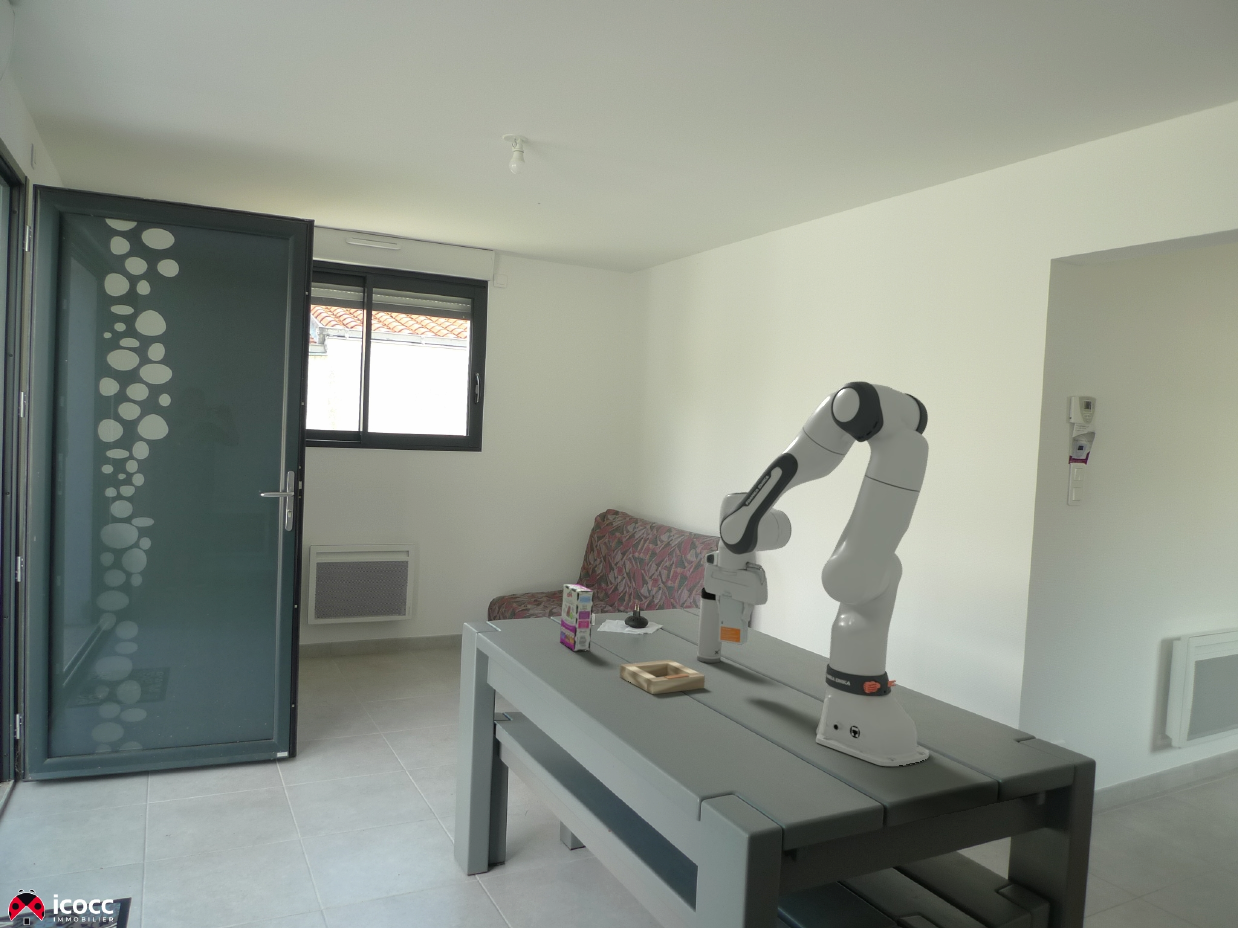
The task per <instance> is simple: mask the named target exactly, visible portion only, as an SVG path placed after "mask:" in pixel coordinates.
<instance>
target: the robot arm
mask: <svg viewBox="0 0 1238 928" xmlns="http://www.w3.org/2000/svg"><path fill="white" fill-rule="evenodd" d="M928 415H929V414H928V410H927V408H926V406H925V404H924V403H923V402H922V401H921V400H919V398H918V397H915V396H913V395H912V394H909V393H905V392H902V391H899V390H897V389H893V388H892V387H890V386H888V385H887V386H886V385H883V384H877V383H871V382H870V383H869V382H867V381H862V380H861V381H858V380H857V381H851V382H847V383H844V384H842V386H839V388H838V389H837V390H836V391H834V392H832V393H830V394H828V395H827V396H826V397H825V398H824V399H823V400H822V401H821V402H820V404H819V405H818V406H817V407H816V408H815V410H814V411H813V412H812V413H811V415H810V416H809V417H808V419H807V420H806V421H805V422H804V425H803V426H802V428H801V429H800V430H799V432H798V433H797V434H796V436H795V437H794V438H793V440H791V442H790V444H789V445H788V446H787V447H786V448H785V449H784V450H783V451H782V452H781V453H780V454H779V455H777V457H776V458H775V459H774V460H773V461H772V462H771V463H770V464H769V465H768V467H767V468H765V470H764V471H763V472H762V473H761V475H760V477H758V479H757V481H756V482H755V483H754V484H753V485H752V487H751V488H750V489H749V491H747V492H746V491H745V492H742V491H741V492H734V493H733V492H732V493H728V494H726V495H725V496H724V497H723V499H722V501H721V505H720V510H719V519H718V521H719V522H718V529H719V535H720V537H719V538H720V539H719V542H718V546H717V550H716V551H713V552H711V553H706V554H705V555H704V562H705V564H706V565H705V567H704V574H703V587H705V590H706V592H708V593H712V594H716V601H717V604H718V606H719V610H718V613H719V614H720V594H721V592H723V591H724V592H728V593H731V594H732V598H733V599H734V600H738V601H742V602H744V607H745V609H744V612H743V613H741V620H742V621H745V622H746V621H748V622H750V621H751V614H752V612H753V610H754V609H755V606H764V605H766V604H767V602H768V600H769V599H768V598H769V597H768V595H769V592H768V591H769V589H768V578H767V576H766V575H767V574H766V571H765V569H764V567H763V566H762V565H761V564H759V563H758V564H756V553H757V552H765V551H774V550H778V549H783V547H785V546H786V545H787V544H788V543H789V541H790V538H791V536H792V524H791V520H790V518H789V517H788V515H787V514H786V513H785V512H784V511H782V510H780V509H777V508H774V506H775V505H776V504H777V502H778V501H779V500H780V499H781V498H782V496H784V494H786V493H788V491H790V490H792V489H794V488H795V487H798V486H800V485H802V484H806V483H808V482H811V481H816V480H819V479H822V478H825V477H827V476H829V475H830V474H831V473H832V472H833V471H835V469H837V468H838V466H839V465H840V464H841V463H842V461H843V460H844V459H845V457H846V455H847V454H848V453H849V452H850V450H851V448H852V447H853V445H854V443H855V442H856V441H857V442H858V443H863V442H867V444H868V446H869V447H870V456H869V460H868V463H867V465H866V466H867V467H866V469H865V472H864V476H863V478H862V482H861V485H860V488H859V491H858V495H857V497H856V501H855V503H854V507H853V510H852V512H851V514H850V517H849V519H848V520H847V523H846V525H845V527H844V528H843V531H842V533H841V535H840V537H839V539H838V541H837V542H836V544H835V548H834V549H833V551H832V553H831V555H830V557H829V559H828V560H826V562H825V564H824V566H823V567H822V570H821V583H822V587H823V588H824V591H825V592H826V593H827V595H828V596H829V597H830V598H831V599H832V600H835V602H838V603H839V605H838V609H837V613H836V615H835V618H834V620H833V622H832V625H831V628H830V629H831V631H830V642H829V643H830V645H829V661H828V663H827V664H826V670H825V683H826V691H825V695H824V696H825V697H824V700H823V705H822V709H821V716H820V719H819V722H818V725H817V727H816V730H815V733H816V738H815V742H816V743H817V744H819V745H822V746H825V747H828V748H830V749H834V750H836V751H839V752H841V753H844V754H846V755H850V756H853V757H856V758H857V759H861V760H863V761H865V762H869V763H872V764H875V765H877V766H881V767H882V766H883V767H900V766H899V765H903V766H907V765H906V764H909V763H915V762H919V763H921V762H920V761H922V760H924V761H926V760H927V759H929V757H930V751H929V750H928V749H926V748H925V747H923V746H921V745H919V744H918V733H917V732H918V731H917V727H916V723H915V721H914V720H913V719H912V718H911V716H910V715H909V714H908V713H907V712H906V711H905V709H904V708H903V707H902V705H901V704H900V703H899V702H898V700H897V699H896V697H894V696H893V694H892V687H896V684H894V683H897V680H895V679H894V680H890V679H889V675H888V673H887V672H888V671H886V667H887V665H886V664H887V653H888V639H889V632H890V631H889V630H890V625H891V621H892V618H893V617H892V616H893V613H894V609H895V604H896V601H897V600H896V599H897V594H898V588H899V584H900V582H901V579H902V575H903V566H902V561H901V559H900V558H899V556H898V555H897V554H896V551H897V548H898V546H899V544H900V543H901V541H902V539H903V537H904V536H905V534H906V532H907V531H908V529H909V528H910V526H911V525H910V524H911V522H912V518H913V515H914V511H915V509H916V505H917V502H918V499H919V496H920V493H921V491H922V490H921V489H922V487H923V484H924V480H925V477H926V471H927V466H928V461H929V459H928V458H929V450H930V447H929V443H928V440H927V439H926V438H925V437H924V436H923V434H924V432H925V431H926V429H927V425H928V420H929V418H928V417H929V416H928ZM925 759H926V760H925ZM922 762H923V761H922ZM915 764H916V763H915Z"/></svg>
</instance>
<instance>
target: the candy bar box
mask: <svg viewBox="0 0 1238 928" xmlns="http://www.w3.org/2000/svg"><path fill="white" fill-rule="evenodd" d="M562 587H563V588H562V604H561V621H560V633H559V636H560V637H559V643H561V644H562V643H563V644H562V645H563V646H565V645H566V646H565V647H567V648H568V647H569V648H568V649H570V650H571V649H572V650H571V651H573V652H586V651H585V650H588V651H587V652H589V650H590V651H591V636H592V624H593V623H592V620H593V619H592V618H593V610H594V609H593V606H594V594H595V593H594V592H595V591H594V590H592V589H590V588H588V587H586V586H583V585H581V584H578V583H574V584H573V583H571V584H570V583H568V584H563V585H562Z"/></svg>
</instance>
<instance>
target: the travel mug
mask: <svg viewBox="0 0 1238 928" xmlns="http://www.w3.org/2000/svg"><path fill="white" fill-rule="evenodd" d="M699 605H700V607H699V623H698V637H697V638H698V640H697V654H696V655H697V657H696V659H697V661H700V662H701V663H707V664H716V663H719V662H721V658H722V655H721V654H722V643H723V642H719V641H718V639H719V617H720V614H719V613H718V610H719V606H718V604H717V601H716V594H712V593H708V592H706V590H705V587H704V586H703V587H702V588H701V595H700V604H699Z"/></svg>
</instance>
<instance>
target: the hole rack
mask: <svg viewBox="0 0 1238 928" xmlns="http://www.w3.org/2000/svg"><path fill="white" fill-rule="evenodd" d="M619 678H621V679H623V680H625V681H627V682H628V681H629V682H628V683H630V682H631V683H630V684H632V685H634V686H637V687H638V688H640V689H641V690H643V691H646V692H647V693H650V694H651V695H658V694H666V693H673V692H674V693H675V692H683V691H690V690H699V689H705V681H706V680H705V679H706V675H705V674H703V673H702V672H698V671H696V670H694V669H692V668H689V667H687V666H685V665H683V664H681V663H679V662H676V661H674V660H672V659H663V660H655V661H645V662H634V663H626V664H624V663H623V664H620V670H619Z"/></svg>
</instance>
